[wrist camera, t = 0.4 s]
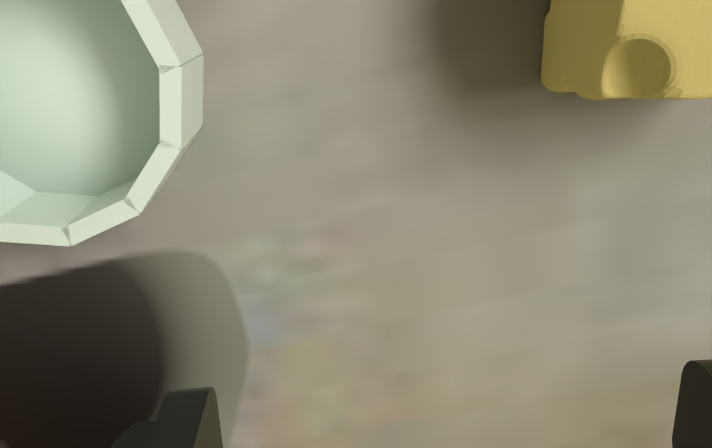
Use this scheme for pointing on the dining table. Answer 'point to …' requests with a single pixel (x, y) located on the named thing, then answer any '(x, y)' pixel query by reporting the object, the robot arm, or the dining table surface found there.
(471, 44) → the dining table surface
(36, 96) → the bowl
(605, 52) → the cheese
